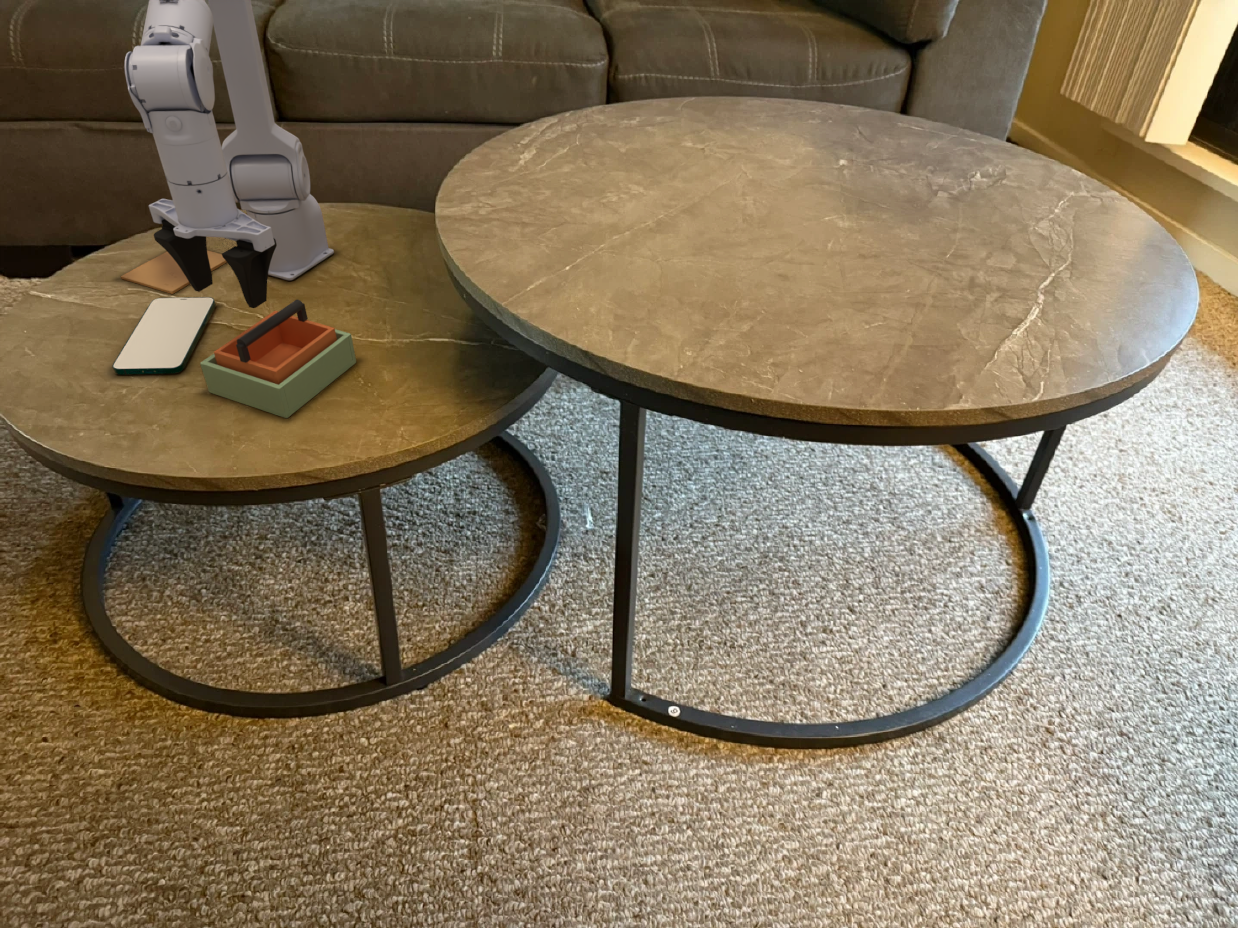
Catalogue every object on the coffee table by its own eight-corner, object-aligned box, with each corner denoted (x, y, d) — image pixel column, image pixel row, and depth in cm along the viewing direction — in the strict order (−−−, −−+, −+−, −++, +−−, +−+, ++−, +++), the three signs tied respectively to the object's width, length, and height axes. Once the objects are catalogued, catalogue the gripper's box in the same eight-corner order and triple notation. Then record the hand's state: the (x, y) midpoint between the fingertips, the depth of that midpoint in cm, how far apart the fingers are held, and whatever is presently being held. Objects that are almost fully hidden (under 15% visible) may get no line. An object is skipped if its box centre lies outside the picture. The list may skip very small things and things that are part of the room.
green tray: (282, 339, 111) (275, 311, 109) (356, 362, 108) (351, 333, 105) (209, 392, 103) (199, 362, 100) (287, 418, 99) (279, 388, 97)
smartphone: (182, 374, 105) (218, 303, 117) (180, 368, 104) (216, 296, 117) (111, 376, 104) (154, 303, 117) (108, 369, 104) (152, 297, 116)
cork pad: (182, 245, 129) (182, 243, 129) (232, 259, 127) (231, 256, 126) (121, 278, 122) (120, 276, 121) (172, 294, 119) (171, 291, 119)
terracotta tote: (283, 342, 110) (271, 289, 105) (342, 360, 107) (331, 306, 103) (222, 386, 103) (205, 331, 98) (283, 406, 100) (269, 350, 95)
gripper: (110, 174, 90) (151, 296, 98) (224, 203, 85) (257, 328, 94) (165, 150, 95) (200, 268, 103) (275, 177, 90) (302, 298, 99)
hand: (230, 295), depth 99 cm, fingers open, 7 cm apart
